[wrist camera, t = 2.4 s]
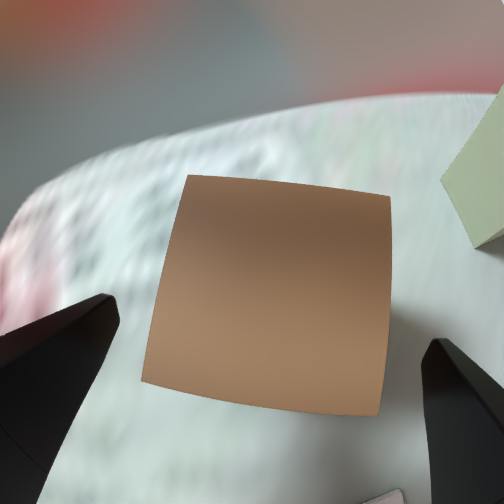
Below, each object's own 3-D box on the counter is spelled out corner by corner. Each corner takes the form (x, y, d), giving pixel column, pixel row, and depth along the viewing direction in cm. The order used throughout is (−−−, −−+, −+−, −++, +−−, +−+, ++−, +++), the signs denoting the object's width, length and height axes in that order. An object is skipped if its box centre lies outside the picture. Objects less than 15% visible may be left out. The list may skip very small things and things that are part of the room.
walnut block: (319, 384, 15) (377, 416, 6) (218, 370, 16) (140, 380, 7) (331, 285, 17) (390, 196, 8) (234, 273, 18) (187, 174, 8)
